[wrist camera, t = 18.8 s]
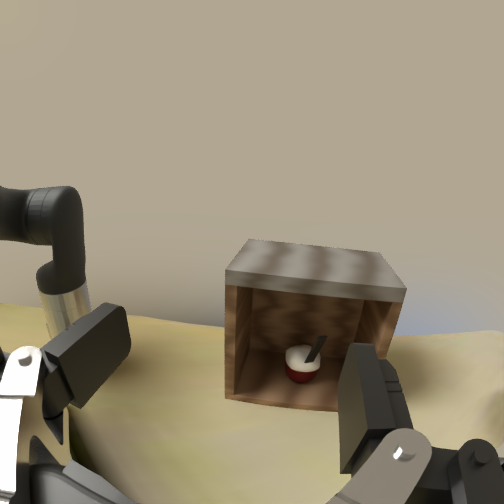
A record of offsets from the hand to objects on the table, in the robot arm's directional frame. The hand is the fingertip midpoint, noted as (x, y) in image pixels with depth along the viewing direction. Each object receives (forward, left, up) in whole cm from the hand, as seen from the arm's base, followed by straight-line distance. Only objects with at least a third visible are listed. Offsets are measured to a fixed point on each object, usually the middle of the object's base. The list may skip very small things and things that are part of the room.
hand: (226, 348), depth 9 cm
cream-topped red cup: (+5, +31, -29) cm, 43 cm away
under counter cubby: (+5, +32, -30) cm, 44 cm away
